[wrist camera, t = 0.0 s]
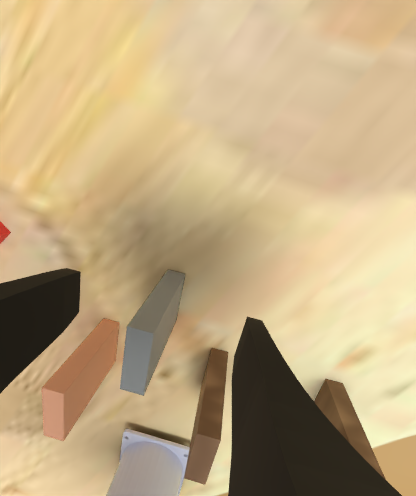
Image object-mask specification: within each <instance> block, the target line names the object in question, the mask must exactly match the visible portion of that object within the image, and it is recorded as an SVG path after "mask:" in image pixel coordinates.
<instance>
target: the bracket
mask: <svg viewBox="0 0 416 496" xmlns="http://www.w3.org/2000/svg"><path fill="white" fill-rule="evenodd" d="M10 233H11V232H10V231H9V230H8V229H7V228H6V227H5V226H4V225H3V224H2V223H1V222H0V243H1V242H2V241H3V240H4V239H5V238H6V237H7V236H8V235H9V234H10Z"/></svg>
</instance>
